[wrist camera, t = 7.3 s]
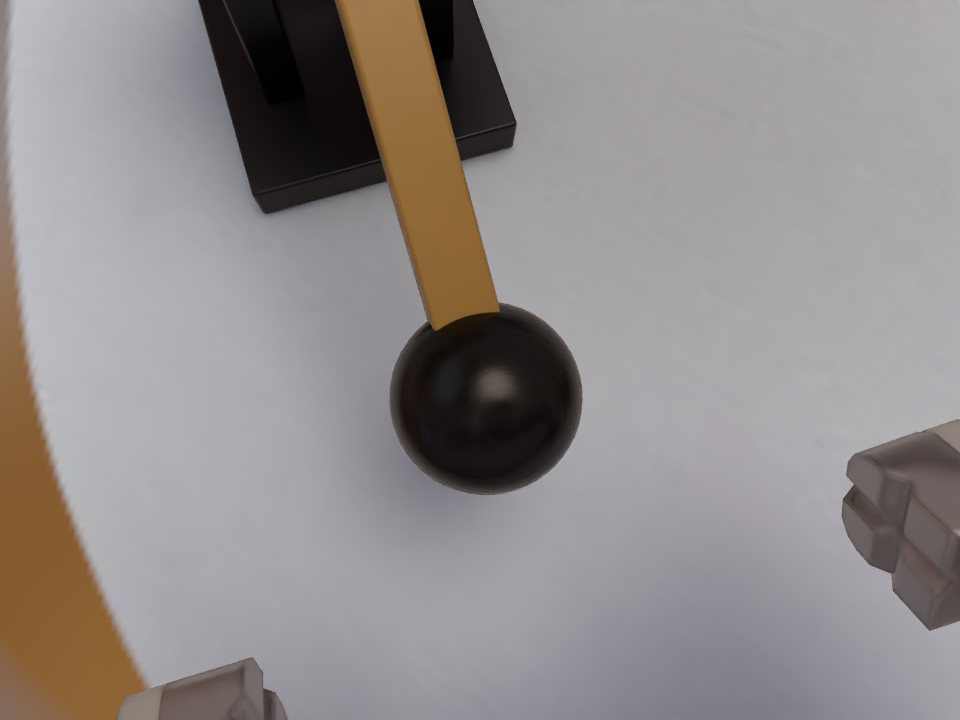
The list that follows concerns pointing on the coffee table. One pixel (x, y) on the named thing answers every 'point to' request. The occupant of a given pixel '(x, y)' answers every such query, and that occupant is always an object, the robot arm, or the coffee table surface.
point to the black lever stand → (337, 93)
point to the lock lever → (454, 285)
